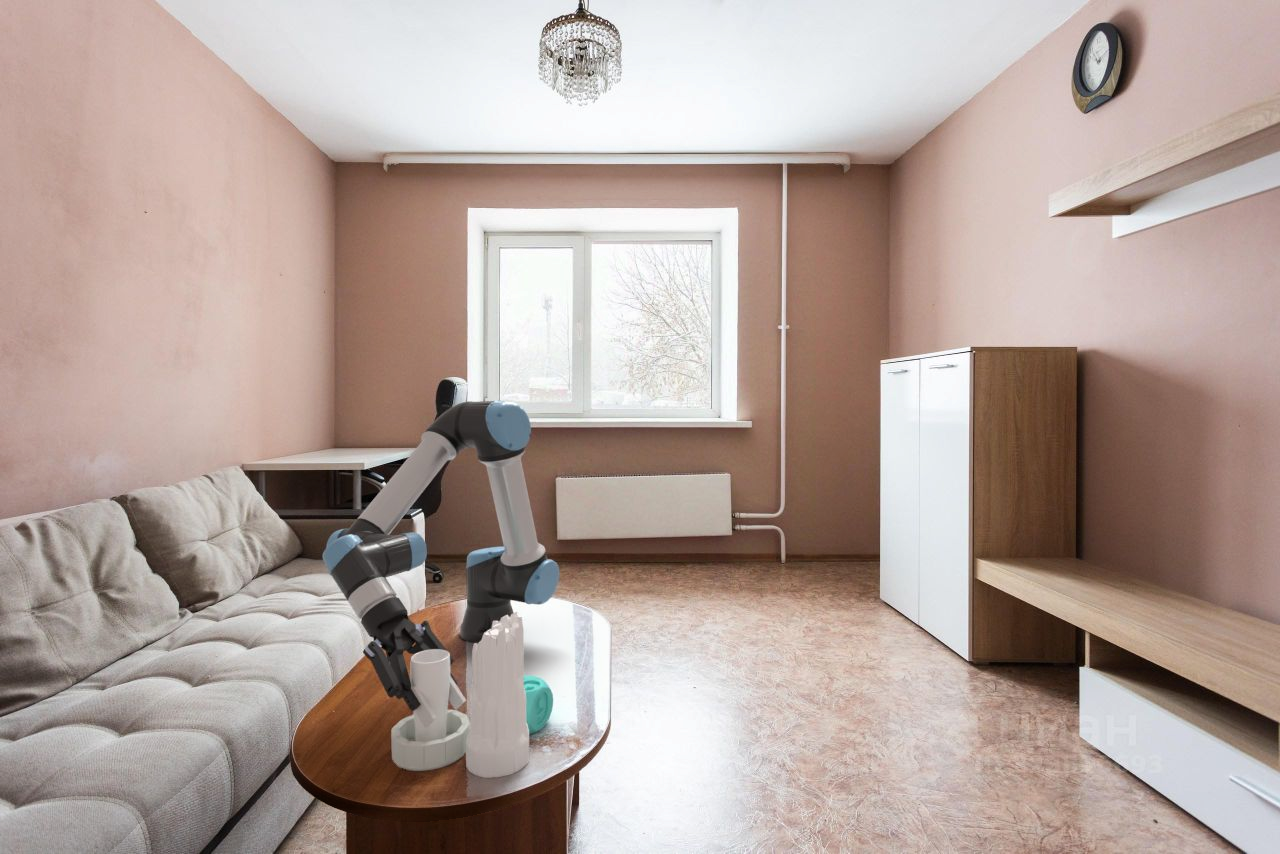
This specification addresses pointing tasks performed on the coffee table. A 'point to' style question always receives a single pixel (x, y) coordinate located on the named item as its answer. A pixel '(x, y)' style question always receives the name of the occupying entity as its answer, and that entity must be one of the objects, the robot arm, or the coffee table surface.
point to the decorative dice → (537, 703)
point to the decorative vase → (498, 702)
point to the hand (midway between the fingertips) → (446, 713)
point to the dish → (429, 744)
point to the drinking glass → (432, 690)
